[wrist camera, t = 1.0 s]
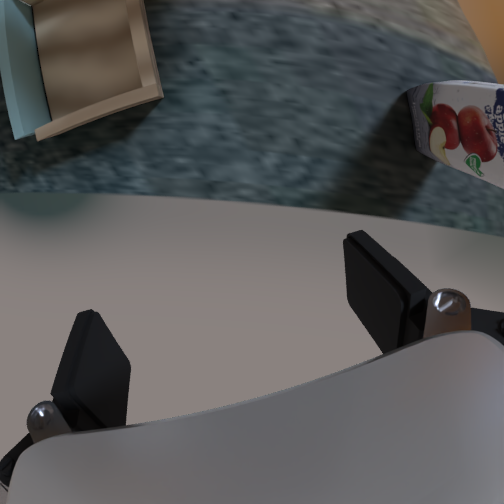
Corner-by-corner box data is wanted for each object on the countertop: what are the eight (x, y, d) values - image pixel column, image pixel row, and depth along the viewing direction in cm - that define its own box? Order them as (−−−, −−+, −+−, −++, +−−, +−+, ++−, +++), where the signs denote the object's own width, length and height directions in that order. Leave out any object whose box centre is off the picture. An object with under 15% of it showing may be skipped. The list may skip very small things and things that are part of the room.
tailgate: (23, 12, 20) (-6, -1, 14) (31, 7, 20) (3, -7, 14) (44, 131, 28) (15, 140, 22) (53, 127, 28) (24, 135, 22)
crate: (35, 0, 20) (13, -13, 15) (136, -40, 21) (128, -63, 16) (59, 134, 29) (37, 141, 23) (164, 97, 30) (158, 95, 24)
